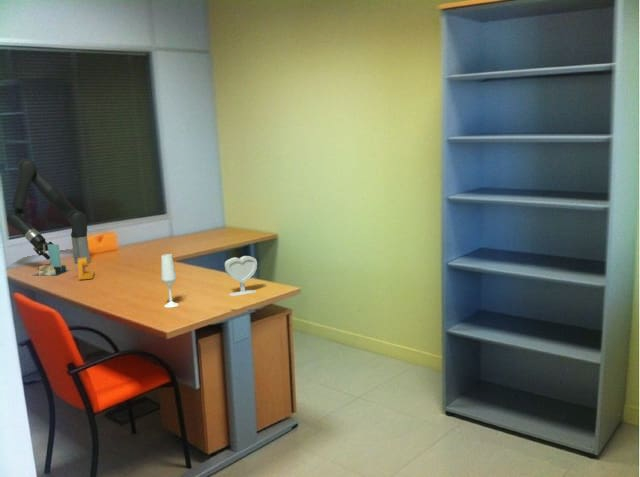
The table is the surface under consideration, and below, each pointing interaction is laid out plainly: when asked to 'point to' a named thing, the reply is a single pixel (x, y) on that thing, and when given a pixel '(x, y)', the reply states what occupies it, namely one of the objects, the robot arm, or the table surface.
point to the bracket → (81, 269)
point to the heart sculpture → (241, 271)
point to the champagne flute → (168, 275)
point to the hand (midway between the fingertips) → (54, 257)
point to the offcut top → (46, 268)
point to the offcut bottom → (47, 272)
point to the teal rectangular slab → (54, 255)
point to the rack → (58, 271)
